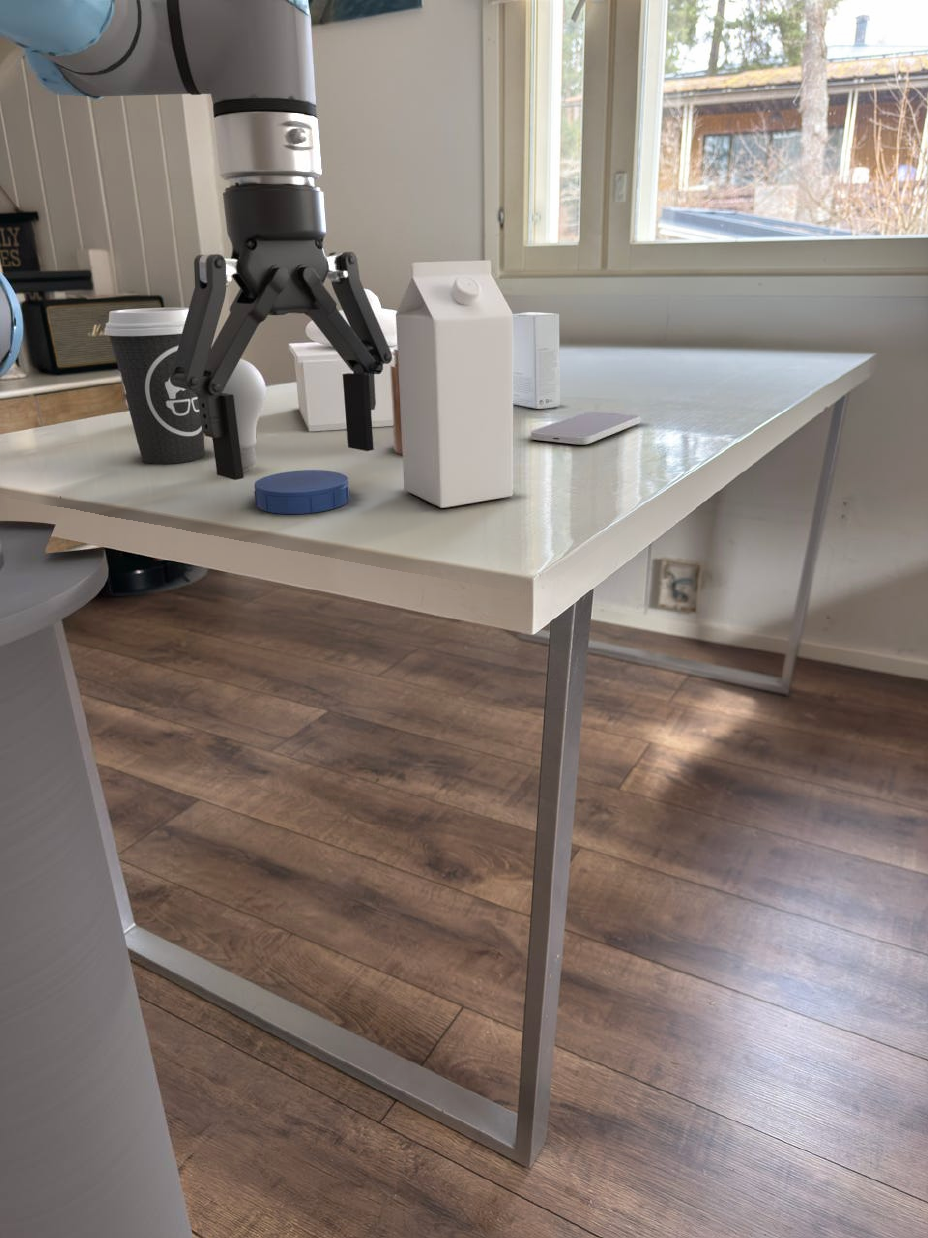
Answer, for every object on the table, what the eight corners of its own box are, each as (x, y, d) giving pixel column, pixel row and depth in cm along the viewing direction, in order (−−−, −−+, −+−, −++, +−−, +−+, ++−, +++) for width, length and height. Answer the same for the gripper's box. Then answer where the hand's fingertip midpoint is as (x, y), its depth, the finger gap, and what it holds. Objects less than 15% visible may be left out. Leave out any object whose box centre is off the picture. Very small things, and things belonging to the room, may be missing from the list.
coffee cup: (217, 445, 98) (198, 305, 93) (221, 462, 90) (201, 310, 84) (128, 452, 96) (103, 309, 90) (125, 470, 87) (97, 314, 82)
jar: (428, 459, 89) (424, 353, 85) (379, 450, 94) (373, 349, 90) (478, 447, 94) (476, 346, 90) (429, 439, 99) (426, 342, 95)
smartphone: (526, 432, 97) (588, 410, 108) (526, 440, 97) (588, 417, 108) (585, 438, 93) (643, 415, 104) (585, 446, 93) (643, 422, 104)
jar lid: (366, 502, 74) (364, 481, 73) (280, 519, 70) (278, 497, 69) (323, 485, 80) (321, 465, 79) (242, 500, 76) (239, 479, 75)
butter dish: (448, 421, 109) (444, 287, 103) (304, 431, 105) (291, 292, 99) (421, 401, 124) (416, 283, 118) (295, 409, 121) (283, 287, 114)
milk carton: (404, 492, 77) (392, 262, 70) (473, 481, 80) (469, 260, 73) (440, 510, 71) (432, 262, 64) (513, 497, 74) (513, 259, 67)
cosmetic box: (561, 406, 117) (563, 312, 113) (534, 410, 115) (535, 314, 111) (534, 401, 122) (535, 310, 118) (508, 404, 120) (508, 312, 115)
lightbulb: (260, 479, 83) (246, 360, 78) (201, 478, 84) (184, 361, 79) (283, 465, 88) (272, 353, 84) (228, 464, 89) (213, 353, 85)
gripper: (142, 172, 55) (190, 498, 63) (425, 186, 71) (434, 443, 79) (89, 181, 59) (141, 482, 68) (366, 192, 76) (380, 434, 84)
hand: (299, 462), depth 74 cm, fingers open, 13 cm apart
